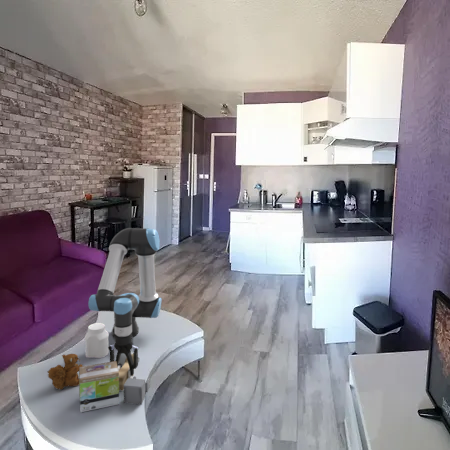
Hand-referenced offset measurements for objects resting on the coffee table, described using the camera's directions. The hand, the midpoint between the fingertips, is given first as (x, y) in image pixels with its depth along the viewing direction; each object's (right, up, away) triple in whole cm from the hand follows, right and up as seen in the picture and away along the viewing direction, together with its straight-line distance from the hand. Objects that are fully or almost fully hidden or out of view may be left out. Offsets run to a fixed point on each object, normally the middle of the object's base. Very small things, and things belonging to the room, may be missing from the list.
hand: (124, 380), depth 159 cm
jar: (-21, +4, +24) cm, 32 cm away
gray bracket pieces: (+8, -2, -9) cm, 12 cm away
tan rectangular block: (0, -1, 0) cm, 1 cm away
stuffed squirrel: (-25, 0, -3) cm, 25 cm away
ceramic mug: (-2, +2, +15) cm, 15 cm away
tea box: (-6, -3, -14) cm, 16 cm away
